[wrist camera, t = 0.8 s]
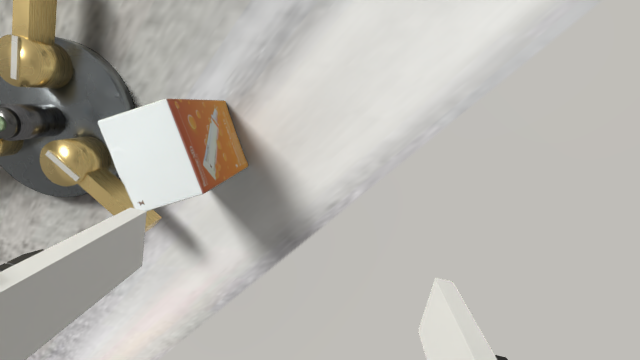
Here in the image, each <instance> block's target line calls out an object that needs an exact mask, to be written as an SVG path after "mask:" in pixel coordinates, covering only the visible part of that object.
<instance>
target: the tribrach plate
mask: <svg viewBox="0 0 640 360" xmlns="http://www.w3.org/2000/svg"><path fill="white" fill-rule="evenodd" d="M55 43H56V44H58V45H60V46H61V47H62V48H64V50H65V51H66V52H67V53H68V55H69V56H70V58H71V61H72V65H73V73H72V77H71V79H70V81H69V82H68V84H66V85H65V86H64V87H61V88H56V89H55V88H33V87H17V86H13V85H11V84H9V83H8V82H6V81H5V80H4V79H3V78H2V77H1V76H0V139H4V140H7V141H16V140H24V143H23V146H22V148H21V150H20V151H19V152H18V153H16V154H14V155H8V156H2V157H0V165H1V166H2V168H3V169H5V170H6V171H7V172H8V173H9V174H10V175H11V176H12V177H14V178H15V179H16V180H17V181H19V182H20V183H22V184H24V185H25V186H27V187H29V188H31V189H33V190H35V191H38V192H41V193H44V194H47V195H52V196H59V197H72V196H78V195H83V194H86V193H88V192H86V191H85V190H84V189H83V188H82V187H81V186H80V185H78V184H76V185H72V186H60V185H57V184H55V183H53V182H52V181H51V180H49V179H48V178H47V177H46V175H45V174H44V172H43V171H42V168H41V165H40V153H41V150H42V148H43V147H44V146H45V145H46V144H47V143H49V142H51V141H55V140H62V139H70V138H77V137H85V136H90V137H94V138H96V139H98V140H100V141H101V142H102V143H103V144H104V145H105V146H106V147H107V145H106V142H105V140H104V137H103V135H102V133H101V130H100V128H99V125H98V121H99V120H102V119H105V118H108V117H111V116H114V115H117V114H120V113H123V112H126V111H129V110H132V109H135V106H134V103H133V100H132V97H131V95H130V93H129V91H128V88H127V87H126V85H125V83H124V82H123V80H122V78H121V77H120V76H119V74H118V73H117V72H116V70H115V69H114V68H113V67H112V66H111V65H110V64H109V63H108V62H107V61H106V60H105V59H104V58H103V57H101V56H100V55H99V54H97V53H96V52H94V51H93V50H91V49H90V48H88V47H86V46H84V45H82V44H79V43H76V42H73V41H70V40H66V39H62V38H57V37H55ZM107 149H108V147H107ZM108 151H109V149H108ZM109 153H110V152H109ZM110 157H111V154H110ZM109 171H110V172H111V173H112V174H114V175H115V176H116V177H117V178H118V177H119V175H118V172H117V170H116V168H115V165H114V162H113V159H112V157H111V164H110V168H109Z"/></svg>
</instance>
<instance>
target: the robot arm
mask: <svg viewBox="0 0 640 360" xmlns="http://www.w3.org/2000/svg"><path fill="white" fill-rule="evenodd" d="M146 213H147V211H143V210H139V209H134V208H128V209H126V210H124V211H122V212H120V213H118V214H116V215H114V216H112V217H110V218H108V219H106V220H104V221H102V222H100V223H98V224H96V225H94V226H92V227H90V228H88V229H86V230H84V231H82V232H80V233H78V234H76V235H74V236H72V237H70V238H68V239H66V240H64V241H62V242H60V243H58V244H56V245H54V246H52V247H50V248H48V249H46V250H43V249H42V250H38V251H34V252H31V253H27V254H23V255H21V256H19V257H17V258H15V259H13V260H11V261H9V262H8V263H7V264H5V263H4V264H2V265H0V360H26V359H27V358H28V357H29V356H31V355H32V354H33V353H34V352H36V351H37V350H38V349H39V348H41V347H42V346H43V345H44V344H46V343H47V342H48V341H49V340H51V339H52V338H53V337H54V336H56V335H57V334H58V333H59V332H60V331H62V330H63V329H64V328H65V327H67V326H68V325H69V324H70V323H72V322H73V321H74V320H75V319H77V318H78V317H79V316H80V315H82V314H83V313H84V312H85V311H87V310H88V309H89V308H90V307H92V306H93V305H94V304H95V303H96V302H98V301H99V300H100V299H101V298H103V297H104V296H105V295H106V294H108V293H109V292H110V291H111V290H113V289H114V288H115V287H116V286H118V285H119V284H120V283H121V282H123V281H124V280H125V279H126V278H128V277H129V276H130V275H131V274H133V273H134V272H135V271H136V270H137V269H139V268H140V267H141V266H142V260H143V248H144V236H145V225H146ZM418 332H419V335H420V339H421V342H422V345H423V349H424V352H425V355H426V359H427V360H508V359H507V358H505V357H501V356H497V355H494V353H493V351H492V350H491V348H490V346H489V344H488V343H487V341H486V339H485V337H484V336H483V334H482V332H481V330H480V328H479V327H478V325H477V323H476V321H475V320H474V318H473V316H472V315H471V313H470V311H469V309H468V307H467V306H466V304H465V302H464V300H463V299H462V297H461V295H460V293H459V292H458V290H457V288H456V286H455V285H454V283H453V282H452V281H448V280H444V279H439V278H435V280H434V284H433V287H432V290H431V293H430V296H429V299H428V302H427V305H426V308H425V311H424V315H423V317H422V320H421V324H420V326H419V329H418Z"/></svg>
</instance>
